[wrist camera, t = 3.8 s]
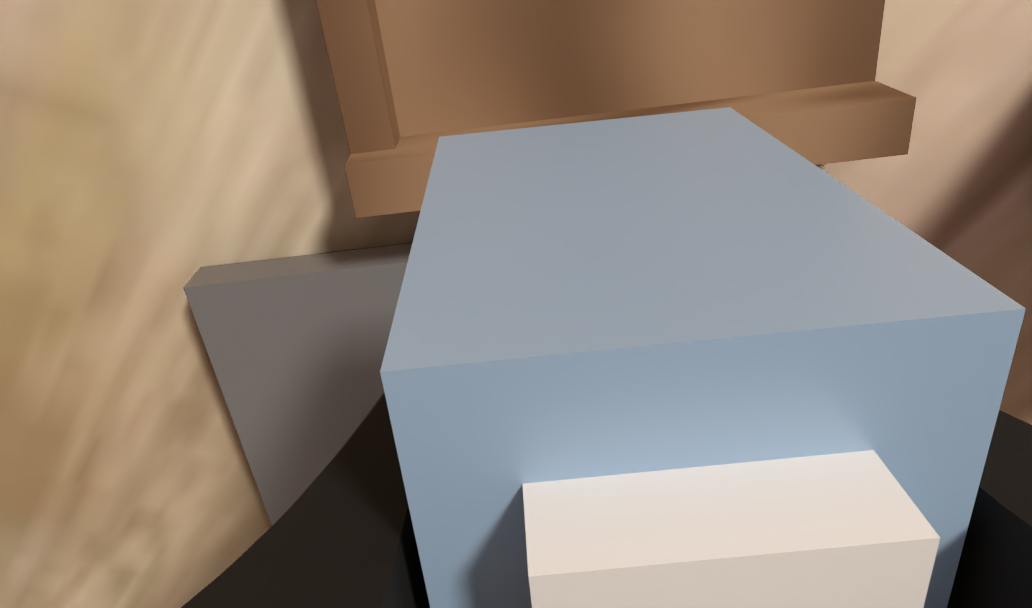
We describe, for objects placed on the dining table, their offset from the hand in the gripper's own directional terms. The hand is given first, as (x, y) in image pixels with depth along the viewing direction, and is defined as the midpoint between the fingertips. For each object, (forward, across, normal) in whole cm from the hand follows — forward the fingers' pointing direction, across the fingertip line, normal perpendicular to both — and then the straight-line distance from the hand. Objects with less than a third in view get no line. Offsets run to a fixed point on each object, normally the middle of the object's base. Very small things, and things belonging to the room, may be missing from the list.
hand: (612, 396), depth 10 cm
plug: (+2, 0, 0) cm, 2 cm away
